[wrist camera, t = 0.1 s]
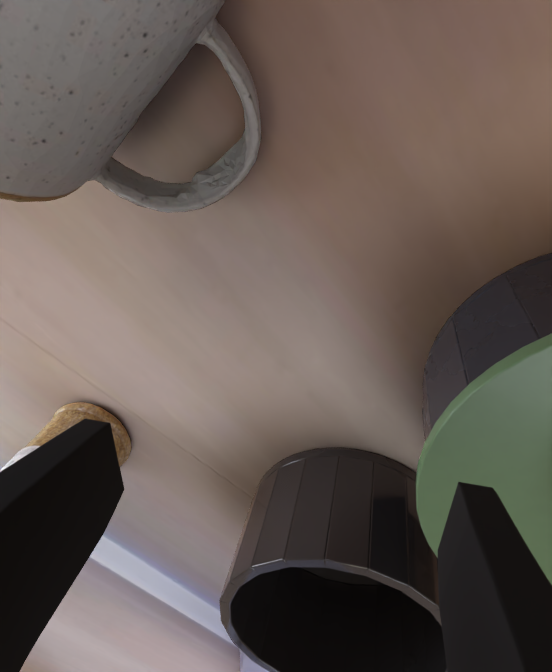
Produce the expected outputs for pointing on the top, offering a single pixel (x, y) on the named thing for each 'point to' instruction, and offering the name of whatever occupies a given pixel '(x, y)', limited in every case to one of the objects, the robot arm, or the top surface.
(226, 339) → the top surface
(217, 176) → the ceramic mug
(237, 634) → the cup
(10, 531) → the robot arm
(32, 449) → the sprinkles bottle
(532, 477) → the lid
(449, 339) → the tin
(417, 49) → the top surface
